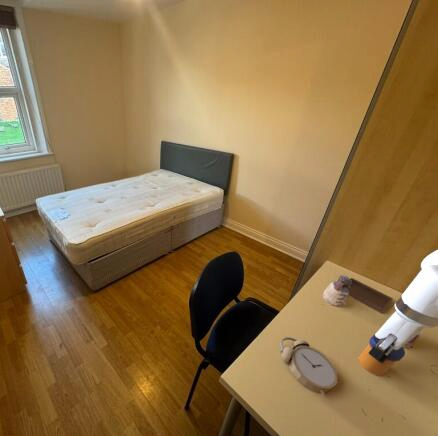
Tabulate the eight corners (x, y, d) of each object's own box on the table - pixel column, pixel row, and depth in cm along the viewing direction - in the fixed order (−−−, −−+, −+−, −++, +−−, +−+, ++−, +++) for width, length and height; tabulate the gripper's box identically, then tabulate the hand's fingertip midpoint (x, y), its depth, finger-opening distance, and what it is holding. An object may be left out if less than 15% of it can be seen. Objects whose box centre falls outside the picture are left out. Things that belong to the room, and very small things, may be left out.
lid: (376, 334, 69) (379, 329, 67) (405, 354, 63) (410, 350, 62) (364, 344, 66) (367, 339, 65) (393, 366, 61) (398, 361, 60)
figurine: (349, 304, 88) (363, 281, 82) (336, 309, 86) (349, 286, 80) (330, 290, 93) (343, 268, 87) (318, 295, 91) (329, 272, 85)
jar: (387, 367, 68) (405, 349, 63) (380, 380, 65) (398, 361, 60) (362, 351, 72) (377, 332, 68) (354, 362, 69) (369, 343, 65)
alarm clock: (322, 398, 59) (275, 342, 69) (312, 403, 62) (268, 349, 72) (347, 376, 63) (299, 327, 73) (337, 382, 66) (292, 334, 76)
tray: (390, 302, 88) (393, 298, 87) (381, 313, 84) (384, 309, 83) (349, 281, 98) (351, 277, 97) (340, 290, 93) (342, 286, 92)
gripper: (414, 287, 63) (381, 329, 72) (381, 312, 56) (349, 353, 65) (455, 308, 57) (413, 350, 66) (423, 338, 50) (382, 380, 59)
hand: (382, 351), depth 65 cm, fingers closed on lid, 6 cm apart
